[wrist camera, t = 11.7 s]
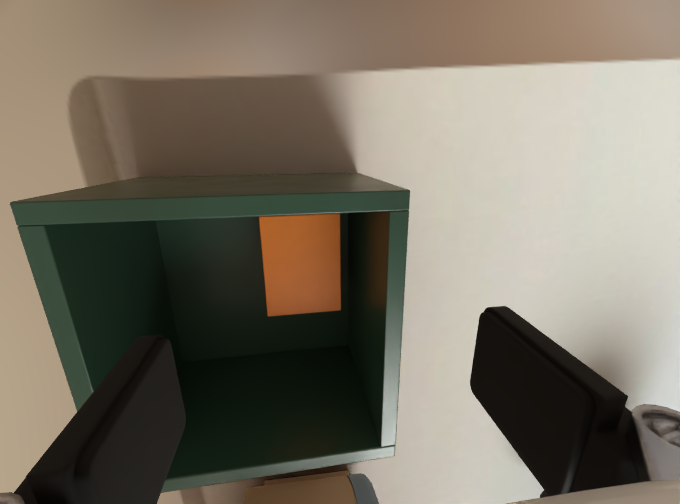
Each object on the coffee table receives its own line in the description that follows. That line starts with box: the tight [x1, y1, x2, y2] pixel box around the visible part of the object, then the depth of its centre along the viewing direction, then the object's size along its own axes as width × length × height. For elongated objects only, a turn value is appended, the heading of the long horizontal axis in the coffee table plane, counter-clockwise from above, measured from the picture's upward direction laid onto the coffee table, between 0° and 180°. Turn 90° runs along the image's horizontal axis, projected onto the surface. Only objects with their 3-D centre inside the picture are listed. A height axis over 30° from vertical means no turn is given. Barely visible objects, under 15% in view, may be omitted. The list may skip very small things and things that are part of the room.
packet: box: [259, 213, 341, 316], centre depth 20 cm, size 4×6×4 cm
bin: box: [10, 173, 410, 493], centre depth 18 cm, size 14×14×10 cm
